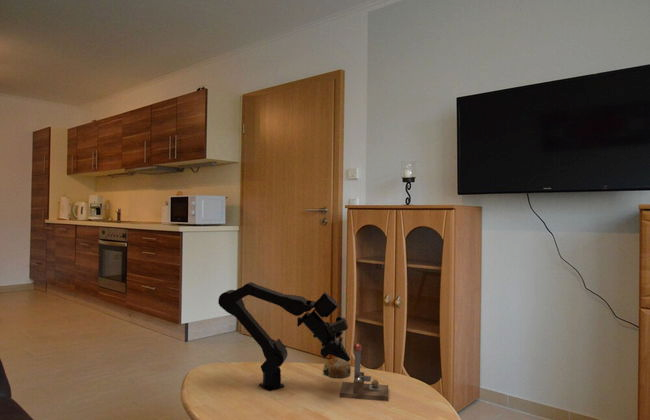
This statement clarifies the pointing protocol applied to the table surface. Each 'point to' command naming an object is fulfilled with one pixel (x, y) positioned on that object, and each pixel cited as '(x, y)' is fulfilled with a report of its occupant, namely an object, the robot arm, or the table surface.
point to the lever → (357, 365)
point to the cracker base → (364, 390)
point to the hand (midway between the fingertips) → (349, 360)
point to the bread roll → (337, 368)
